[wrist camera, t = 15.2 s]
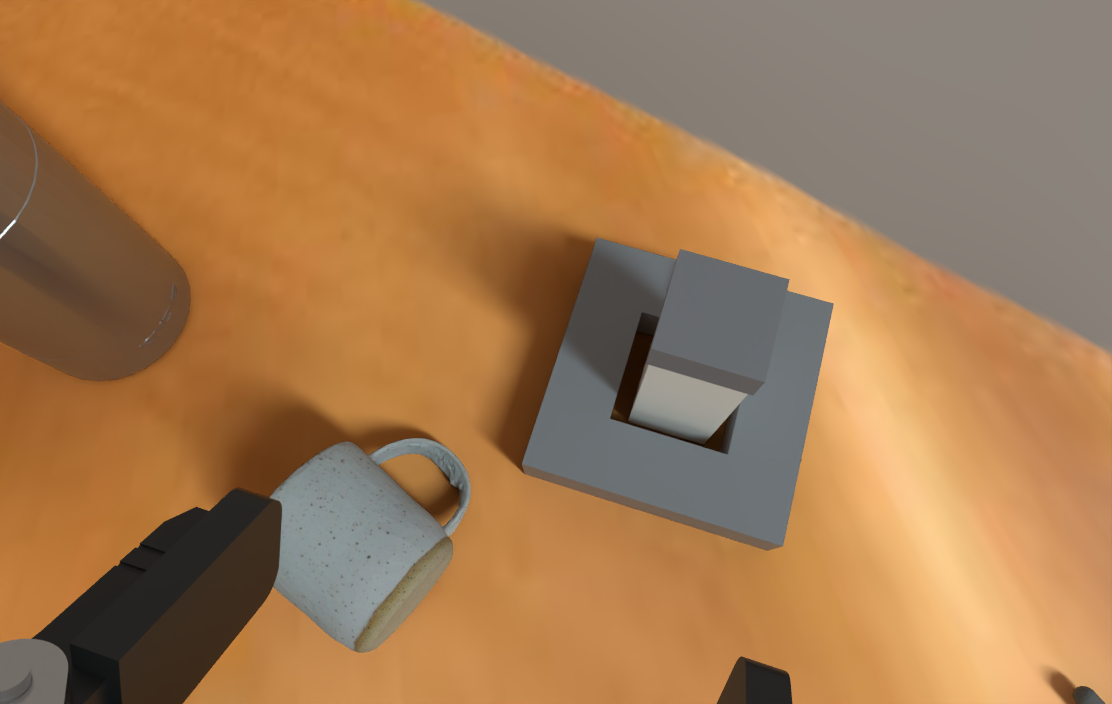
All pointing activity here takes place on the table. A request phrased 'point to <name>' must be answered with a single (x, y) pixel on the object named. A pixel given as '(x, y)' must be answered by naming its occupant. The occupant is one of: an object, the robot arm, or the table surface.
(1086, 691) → the walkie-talkie
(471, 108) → the table surface
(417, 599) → the ceramic mug
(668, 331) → the plug
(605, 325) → the socket
